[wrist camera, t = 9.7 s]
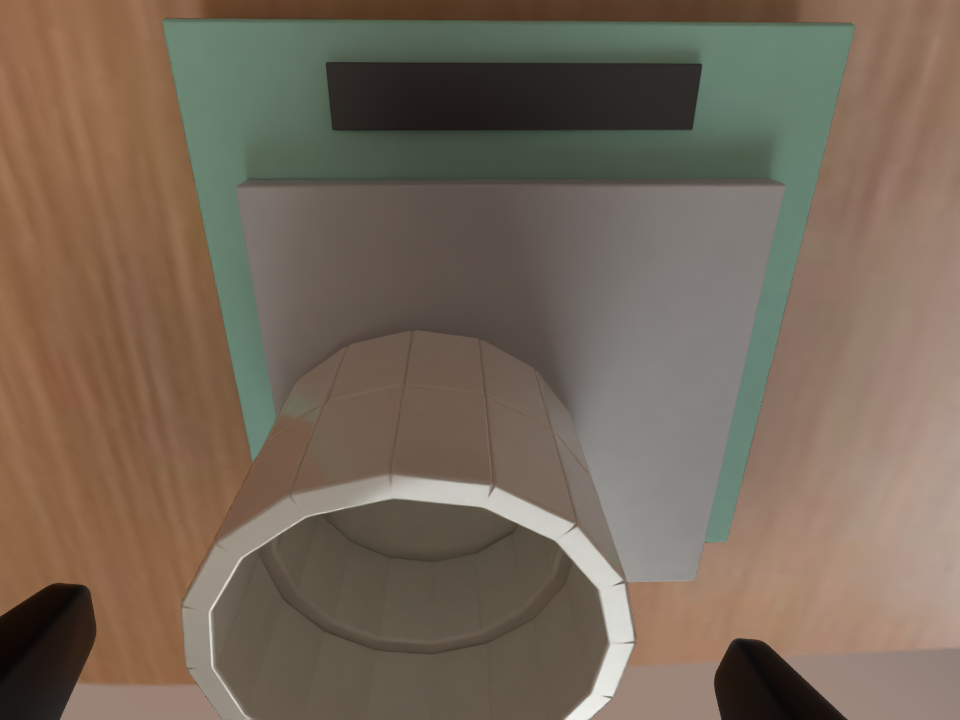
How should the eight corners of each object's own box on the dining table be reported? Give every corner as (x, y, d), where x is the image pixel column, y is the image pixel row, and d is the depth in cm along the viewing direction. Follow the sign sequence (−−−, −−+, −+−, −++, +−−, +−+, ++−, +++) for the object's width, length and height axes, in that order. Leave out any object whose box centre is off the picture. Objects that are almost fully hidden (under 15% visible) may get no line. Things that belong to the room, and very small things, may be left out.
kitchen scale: (696, 512, 16) (733, 580, 14) (292, 522, 16) (267, 594, 14) (799, 29, 11) (883, 19, 9) (203, 25, 11) (139, 14, 8)
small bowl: (539, 574, 14) (576, 793, 10) (276, 550, 13) (193, 774, 9) (605, 343, 11) (694, 504, 7) (279, 298, 10) (165, 448, 6)
